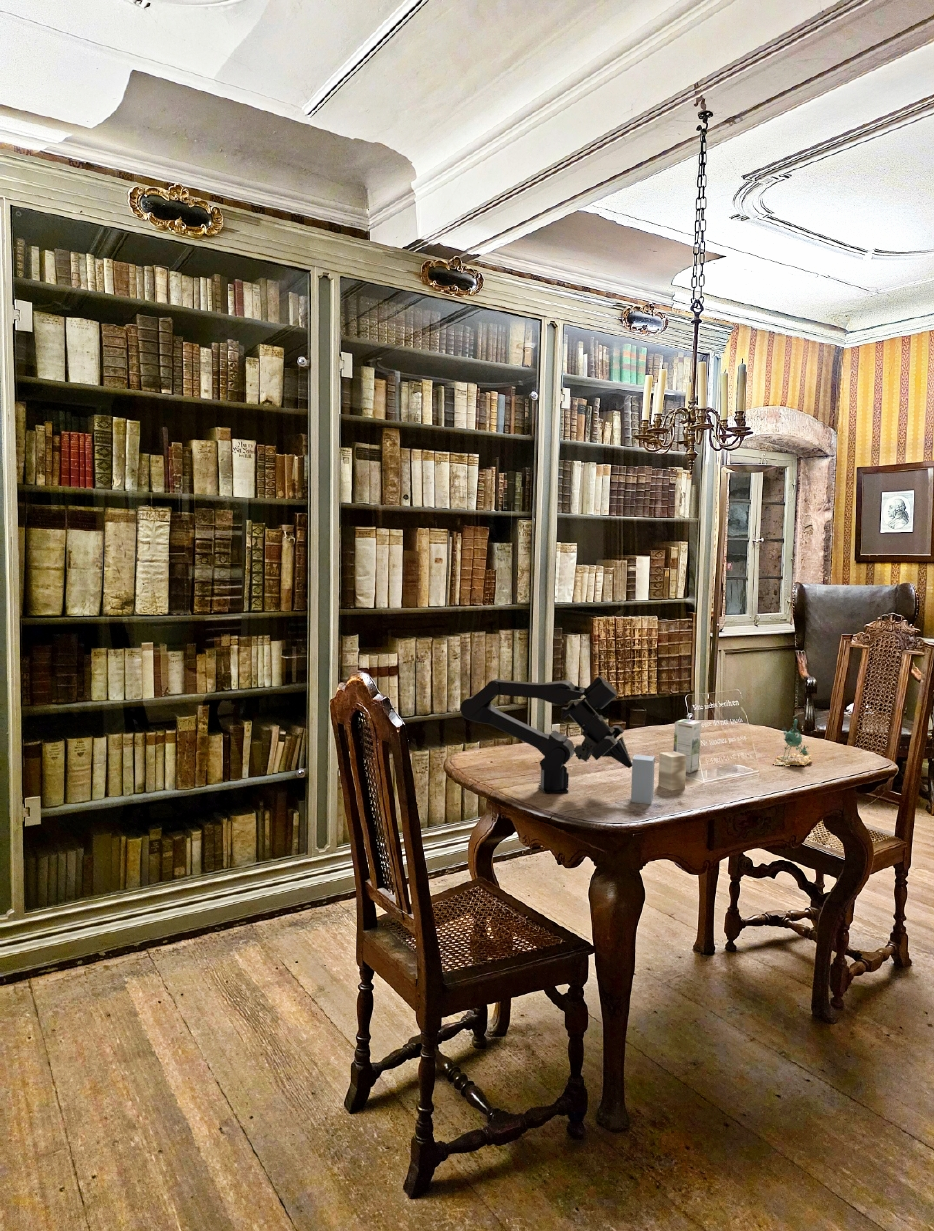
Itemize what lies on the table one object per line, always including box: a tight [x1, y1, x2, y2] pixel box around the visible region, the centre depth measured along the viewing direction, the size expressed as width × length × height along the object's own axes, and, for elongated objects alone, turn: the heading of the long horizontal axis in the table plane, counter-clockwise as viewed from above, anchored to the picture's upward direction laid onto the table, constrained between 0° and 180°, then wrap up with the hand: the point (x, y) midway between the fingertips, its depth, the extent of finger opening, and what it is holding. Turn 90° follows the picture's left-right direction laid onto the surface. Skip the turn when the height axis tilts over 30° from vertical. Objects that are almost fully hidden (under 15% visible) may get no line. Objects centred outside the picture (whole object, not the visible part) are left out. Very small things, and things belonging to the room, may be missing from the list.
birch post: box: [657, 751, 687, 791], centre depth 219 cm, size 5×5×9 cm
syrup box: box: [673, 718, 702, 774], centre depth 236 cm, size 6×6×14 cm
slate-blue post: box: [630, 754, 656, 805], centre depth 206 cm, size 5×5×11 cm
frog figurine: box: [773, 718, 812, 766], centre depth 247 cm, size 10×18×15 cm, turn 116°
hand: (630, 766), depth 207 cm, fingers closed
